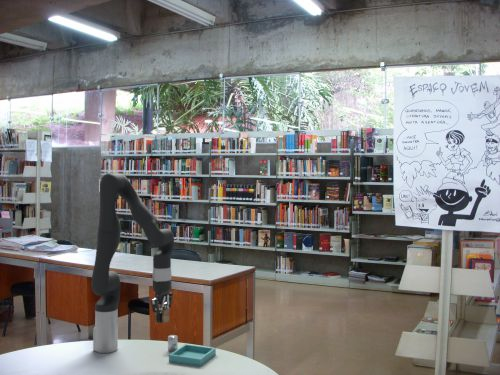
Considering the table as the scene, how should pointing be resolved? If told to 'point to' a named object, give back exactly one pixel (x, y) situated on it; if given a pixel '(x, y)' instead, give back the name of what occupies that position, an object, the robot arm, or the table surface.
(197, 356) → the parts tray
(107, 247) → the robot arm
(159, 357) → the table surface
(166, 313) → the walnut block
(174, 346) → the metal cylinder
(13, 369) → the table surface
